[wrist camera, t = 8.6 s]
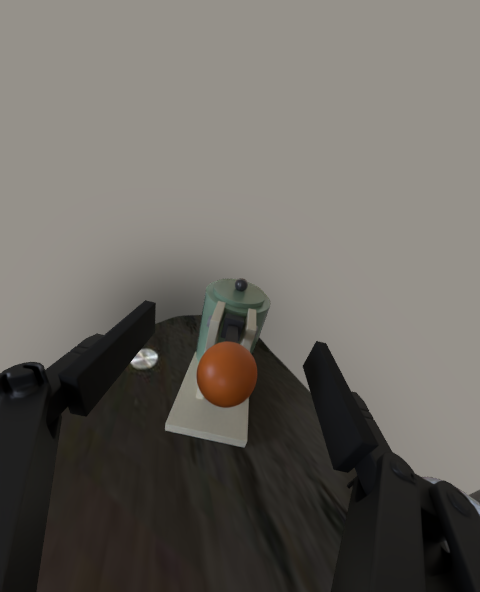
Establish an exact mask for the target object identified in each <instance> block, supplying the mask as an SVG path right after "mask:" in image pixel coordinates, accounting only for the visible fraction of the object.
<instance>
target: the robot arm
mask: <svg viewBox="0 0 480 592" xmlns="http://www.w3.org/2000/svg"><path fill="white" fill-rule="evenodd" d="M155 305H156V303H154V302H149V301H144V302H143V303H142V304H141V305H139V306H138V307H137V308H136V309H135V310H134V311H132V312H131V313H130V314H129V315H128V316H126V317H125V318H124V319H123V320H122V321H121V322H119V323H118V324H117V325H116V326H115V327H113V328H112V329H111V330H110V331H109V332H107V333H106V334H105V335H101V334H95V335H93V336H91V337H88V338H86V339H85V340H83V341H82V342H81V343H80V344H78V346H77V347H74V348H73V349H72V350H71V351H70V352H68V353H67V354H66V355H64V356H63V357H62V358H60V359H59V360H58V361H56V362H55V363H54V364H52V365H51V366H50V367H49V368H47V369H46V370H45V369H44V366H43V365H42V364H40V363H37V362H28V363H22V364H18V365H15V366H13V367H11V368H8V369H6V370H4V371H3V372H2V373H0V592H36V590H37V583H38V576H39V570H40V563H41V556H42V549H43V542H44V535H45V529H46V522H47V515H48V508H49V501H50V495H51V488H52V481H53V474H54V467H55V460H56V454H57V447H58V440H59V433H60V426H61V419H62V416H61V413H62V412H63V411H64V410H65V409H66V408H67V407H69V410H70V413H72V414H77V415H81V416H87V415H88V414H89V413H90V411H91V410H92V409H93V408H94V407H95V405H96V404H97V403H98V402H99V400H100V399H101V398H102V397H103V395H104V394H105V393H106V392H107V390H108V389H109V388H110V387H111V385H112V384H113V383H114V382H115V381H116V379H117V378H118V377H119V376H120V374H121V373H122V372H123V371H124V369H125V368H126V367H127V366H128V364H129V363H130V362H131V361H132V360H133V358H134V357H135V356H136V355H137V353H138V352H139V351H140V350H141V348H142V347H143V346H144V345H145V343H146V342H147V341H148V340H149V339H150V337H151V336H152V335H153V334H154V332H155ZM303 369H304V372H305V375H306V378H307V382H308V385H309V389H310V392H311V395H312V399H313V402H314V405H315V409H316V412H317V415H318V419H319V422H320V425H321V429H322V432H323V436H324V439H325V442H326V446H327V449H328V452H329V456H330V459H331V462H332V466H333V469H334V470H338V471H343V472H347V473H348V472H349V471H351V470H352V469H353V468H354V467H355V470H356V473H357V476H356V477H355V478H354V479H353V480H351V481H350V482H349V483H348V485H347V487H348V488H350V487H352V486H353V489H352V494H351V498H350V503H349V508H348V513H347V517H346V522H345V527H344V532H343V536H342V541H341V546H340V551H339V555H338V560H337V565H336V570H335V574H334V579H333V584H332V589H331V592H480V515H479V513H478V511H477V510H476V508H475V506H474V505H473V504H472V503H471V502H470V500H469V499H468V498H467V497H466V496H465V495H464V494H463V493H462V492H461V491H460V490H459V489H458V488H456V487H454V486H453V485H452V484H450V483H448V482H446V481H438V482H437V483H435V484H433V483H431V482H429V481H427V480H426V479H424V478H422V477H420V476H418V475H416V474H415V473H414V471H413V470H412V469H411V467H410V466H409V465H408V464H407V463H406V462H405V461H404V460H403V459H402V458H401V457H399V456H398V455H396V454H395V453H393V452H392V451H391V449H390V447H389V445H388V443H387V442H386V440H385V438H384V436H383V435H382V433H381V431H380V429H379V427H378V426H377V424H376V422H375V420H373V417H372V415H371V413H370V412H369V410H368V408H367V406H366V404H365V402H364V401H363V400H362V399H361V398H360V396H359V395H358V394H357V393H356V392H351V391H350V389H349V387H348V385H347V383H346V381H345V379H344V377H343V375H342V373H341V371H340V369H339V367H338V366H337V364H336V362H335V360H334V358H333V356H332V354H331V352H330V350H329V349H328V346H327V344H326V343H322V342H318V341H316V343H315V345H314V347H313V348H312V350H311V352H310V354H309V356H308V357H307V359H306V361H305V363H304V365H303ZM444 541H447V544H448V547H449V550H450V552H448V550H447V548H446V545H445V542H444Z"/></svg>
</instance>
